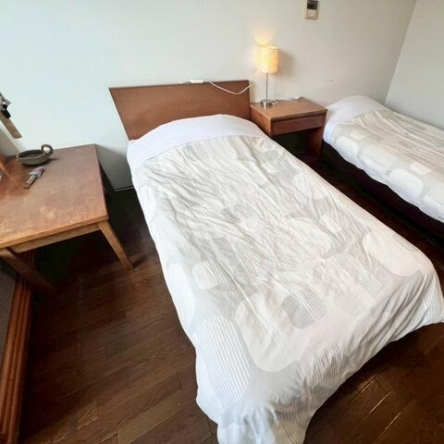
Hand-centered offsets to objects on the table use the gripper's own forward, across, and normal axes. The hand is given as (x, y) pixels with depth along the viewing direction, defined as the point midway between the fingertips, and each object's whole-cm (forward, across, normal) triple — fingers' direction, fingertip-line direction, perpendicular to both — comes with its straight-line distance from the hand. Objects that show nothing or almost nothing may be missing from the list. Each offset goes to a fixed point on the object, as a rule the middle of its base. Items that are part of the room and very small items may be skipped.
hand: (3, 117), depth 126 cm
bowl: (+29, -2, +6) cm, 30 cm away
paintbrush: (+29, +3, -12) cm, 32 cm away
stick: (+11, 0, 0) cm, 11 cm away
